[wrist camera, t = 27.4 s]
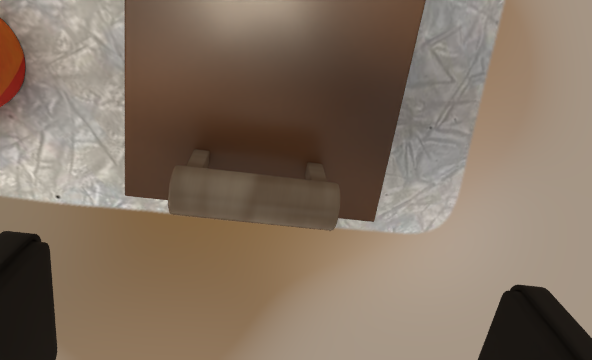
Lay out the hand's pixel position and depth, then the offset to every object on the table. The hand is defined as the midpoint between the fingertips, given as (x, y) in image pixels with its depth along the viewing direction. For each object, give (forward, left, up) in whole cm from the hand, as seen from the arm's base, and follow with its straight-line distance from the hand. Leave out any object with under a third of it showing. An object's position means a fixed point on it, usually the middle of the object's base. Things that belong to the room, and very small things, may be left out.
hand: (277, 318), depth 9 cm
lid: (-1, -4, -12) cm, 13 cm away
